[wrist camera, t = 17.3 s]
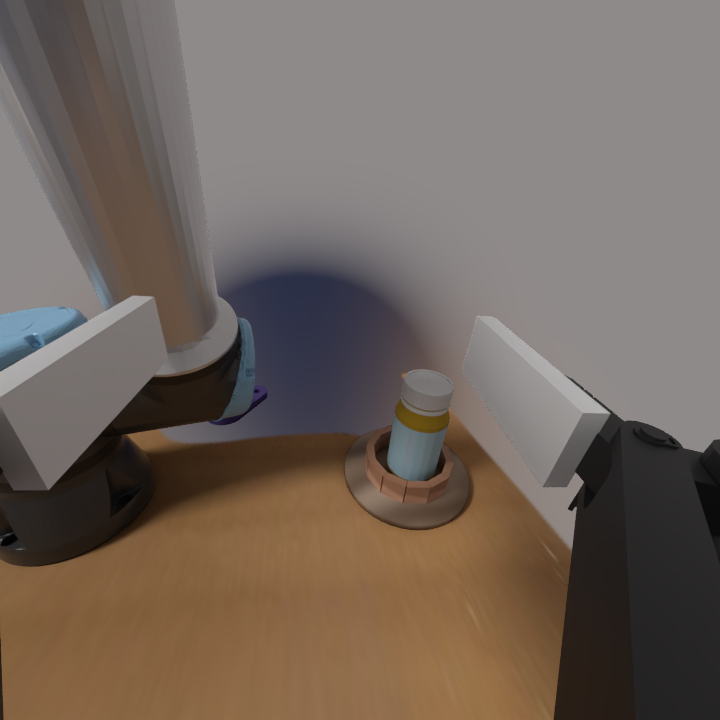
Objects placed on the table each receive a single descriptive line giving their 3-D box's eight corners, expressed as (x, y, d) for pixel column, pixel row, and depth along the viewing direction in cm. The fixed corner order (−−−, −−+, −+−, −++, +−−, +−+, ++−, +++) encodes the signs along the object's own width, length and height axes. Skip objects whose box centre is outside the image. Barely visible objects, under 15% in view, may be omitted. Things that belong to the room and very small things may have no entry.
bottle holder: (322, 455, 49) (323, 435, 47) (410, 420, 58) (413, 402, 56) (396, 557, 36) (402, 535, 34) (494, 491, 45) (502, 471, 43)
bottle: (427, 495, 42) (452, 404, 35) (379, 476, 45) (393, 386, 38) (438, 461, 48) (461, 377, 41) (394, 445, 50) (409, 362, 43)
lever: (221, 430, 52) (218, 415, 50) (198, 415, 55) (195, 400, 53) (276, 398, 61) (275, 384, 60) (253, 386, 64) (252, 373, 62)
